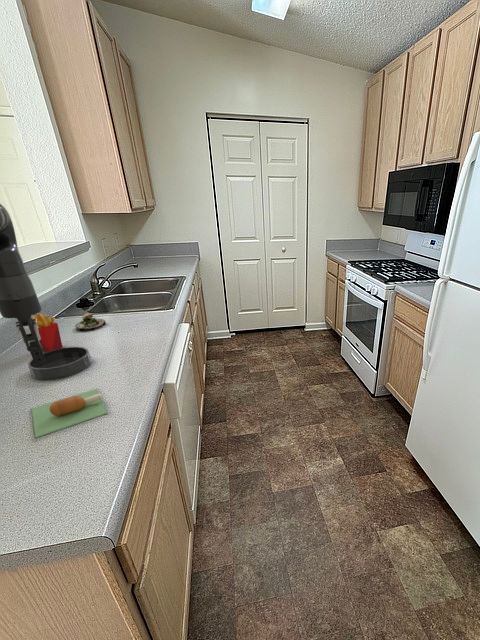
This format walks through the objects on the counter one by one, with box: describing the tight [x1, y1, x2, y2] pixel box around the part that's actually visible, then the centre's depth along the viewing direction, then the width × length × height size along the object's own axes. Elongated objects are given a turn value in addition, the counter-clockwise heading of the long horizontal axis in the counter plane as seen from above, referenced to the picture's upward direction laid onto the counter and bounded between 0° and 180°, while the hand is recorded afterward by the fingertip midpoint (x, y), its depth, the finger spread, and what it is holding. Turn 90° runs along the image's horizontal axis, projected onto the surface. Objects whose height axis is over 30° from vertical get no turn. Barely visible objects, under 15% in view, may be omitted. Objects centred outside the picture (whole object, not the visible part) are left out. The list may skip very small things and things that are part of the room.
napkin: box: [31, 388, 108, 439], centre depth 91 cm, size 16×16×1 cm
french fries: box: [31, 312, 63, 352], centre depth 124 cm, size 9×8×15 cm
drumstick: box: [49, 393, 103, 416], centre depth 90 cm, size 12×4×4 cm
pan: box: [27, 346, 93, 381], centre depth 113 cm, size 17×17×4 cm
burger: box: [74, 313, 107, 332], centre depth 148 cm, size 12×12×8 cm
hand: (39, 357), depth 83 cm, fingers open, 8 cm apart
